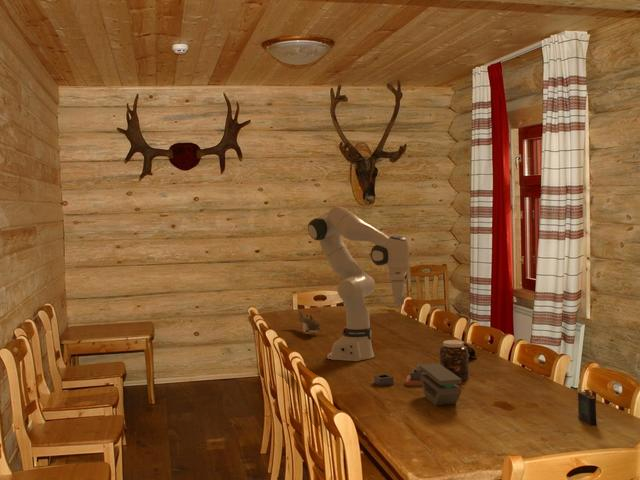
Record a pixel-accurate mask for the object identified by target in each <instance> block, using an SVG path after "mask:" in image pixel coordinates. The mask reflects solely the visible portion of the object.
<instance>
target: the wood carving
mask: <svg viewBox="0 0 640 480" xmlns="http://www.w3.org/2000/svg"><path fill="white" fill-rule="evenodd" d="M297 312H298V316H299V317H298V318H299V320H298V321H299V323H300V322H302V332H303V331H304V332H306V333H308V332H316V333H317V330H318V331H320V332H321V331H322V330H321V327H320V323H319V322H318V321H317V320H315V319H313V317H312V315H311V314H309V315H308V314H306V315H304V314H303V312H302V311H301V310H300V309H298V310H297Z"/></svg>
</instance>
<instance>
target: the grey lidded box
mask: <svg viewBox="0 0 640 480" xmlns="http://www.w3.org/2000/svg"><path fill="white" fill-rule="evenodd" d="M418 365H419V369H420V370H422V371H423V372H424V373H425V374H420V376H421V383H422V386H421V387H422V391H423V394H424V396H425V397H424V398H425V399H427V400H428V401H429V402H430V403H432V405H434V406H435V407H437V406H446V405H456V404H457V402H458V400H459V398H460V396H461V394H462V392H461V391H462V388H461V387H460V384H462V382H463V381H462V380H461V378H459V377H458V376H456V375H455V374H453V373H452V372H451V371H449V370H448V369H446V368H445V367H443V366H442V365H441V364H440V362H437V363H427V364H426V363H424V364H418ZM458 384H459V385H458Z"/></svg>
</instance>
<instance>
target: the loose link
mask: <svg viewBox="0 0 640 480" xmlns="http://www.w3.org/2000/svg"><path fill="white" fill-rule="evenodd" d="M373 379H374V381H373V382H374V384H375V385H377V386H379V387H384V386H390V385H391V386H392V385H394V376H392V375H391V374H389V373H384V374H376V375H373Z"/></svg>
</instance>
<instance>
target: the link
mask: <svg viewBox="0 0 640 480" xmlns="http://www.w3.org/2000/svg"><path fill="white" fill-rule="evenodd" d="M420 374H425V373H424V372H423V371H422V370H421V372H417V368H416V369H411V370H410V374H409V375H410V378H411V380H420V381H421V376H420Z"/></svg>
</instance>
